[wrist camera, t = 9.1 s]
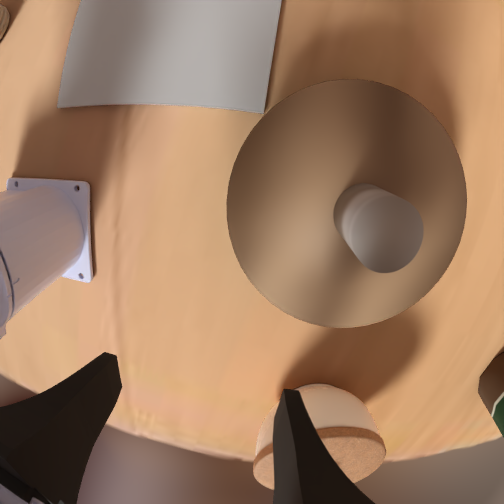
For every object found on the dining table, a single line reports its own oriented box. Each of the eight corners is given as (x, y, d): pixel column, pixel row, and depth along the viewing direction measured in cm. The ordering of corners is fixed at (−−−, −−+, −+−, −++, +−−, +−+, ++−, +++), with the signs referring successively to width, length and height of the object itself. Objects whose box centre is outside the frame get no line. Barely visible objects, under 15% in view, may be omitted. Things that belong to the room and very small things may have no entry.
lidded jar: (244, 426, 27) (238, 503, 18) (275, 354, 23) (278, 451, 15) (337, 437, 28) (349, 507, 19) (386, 372, 24) (417, 452, 15)
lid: (223, 312, 17) (212, 362, 13) (237, 67, 12) (227, 39, 8) (427, 321, 17) (456, 362, 13) (470, 116, 12) (520, 116, 8)
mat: (61, 108, 17) (57, 107, 16) (104, -49, 12) (101, -52, 11) (263, 113, 17) (263, 112, 16) (292, -60, 12) (292, -64, 11)
